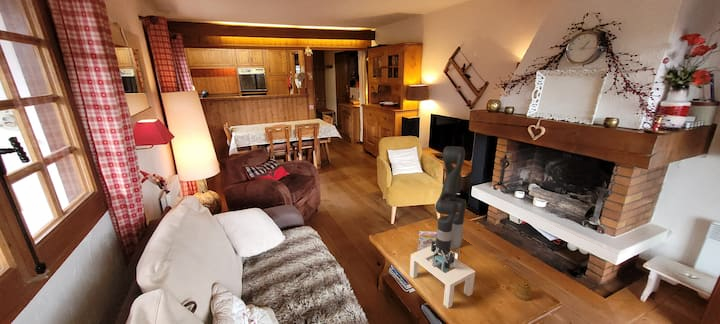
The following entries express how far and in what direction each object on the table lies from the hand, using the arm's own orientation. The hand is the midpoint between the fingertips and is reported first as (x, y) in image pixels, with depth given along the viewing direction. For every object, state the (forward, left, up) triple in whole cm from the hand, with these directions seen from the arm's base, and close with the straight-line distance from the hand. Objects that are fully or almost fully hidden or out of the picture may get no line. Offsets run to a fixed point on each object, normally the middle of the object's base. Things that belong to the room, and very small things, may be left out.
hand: (441, 263), depth 151 cm
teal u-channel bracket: (+1, 0, -6) cm, 6 cm away
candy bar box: (-12, -22, -13) cm, 28 cm away
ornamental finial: (-30, +28, -13) cm, 43 cm away
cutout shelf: (0, 0, -13) cm, 13 cm away
